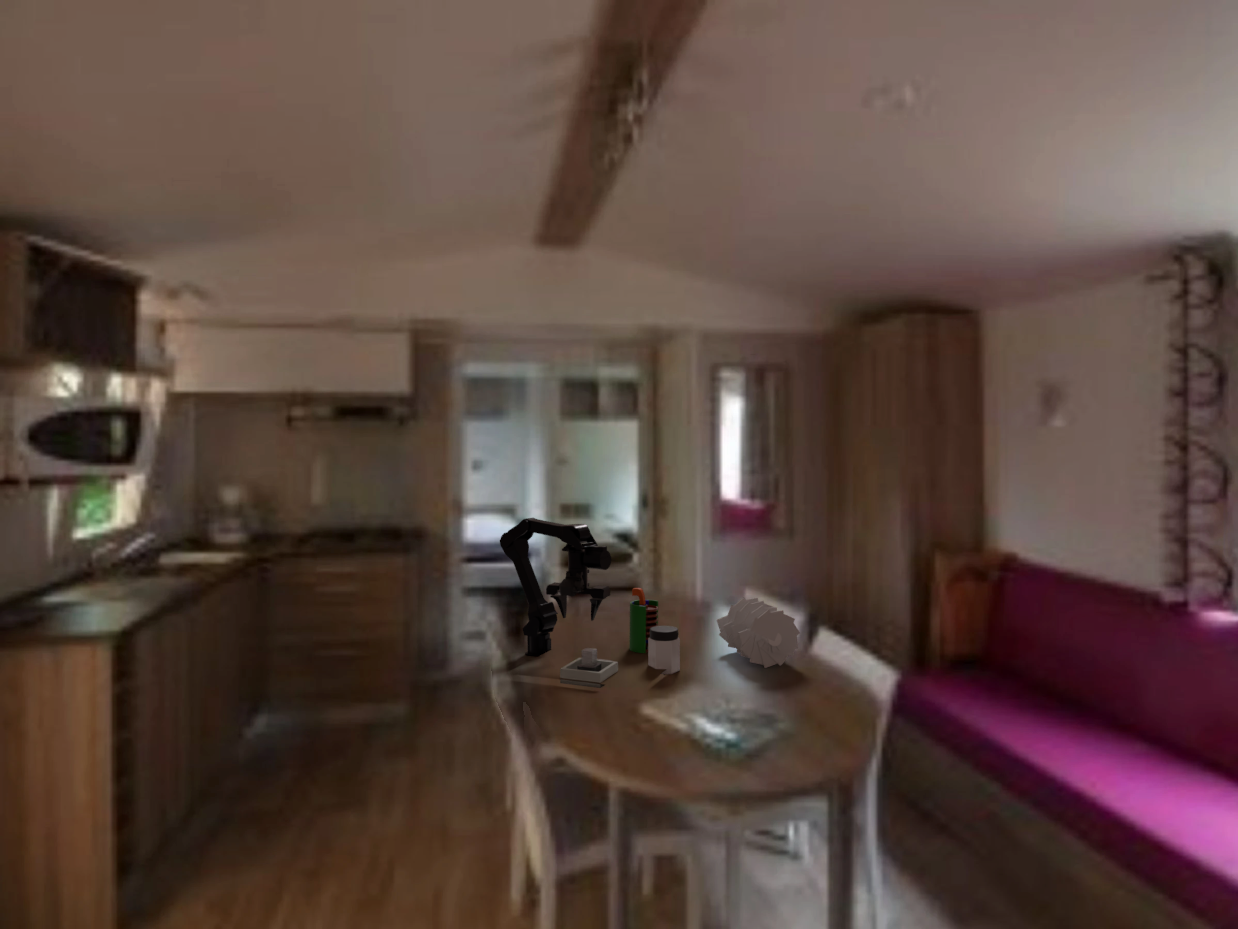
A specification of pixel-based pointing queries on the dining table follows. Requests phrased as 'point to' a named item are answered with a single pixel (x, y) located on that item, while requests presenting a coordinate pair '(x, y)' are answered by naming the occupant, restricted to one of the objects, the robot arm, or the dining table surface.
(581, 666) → the grey square peg
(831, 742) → the dining table surface
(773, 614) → the spiral staircase
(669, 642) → the jar
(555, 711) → the dining table surface
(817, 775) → the dining table surface
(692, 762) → the dining table surface
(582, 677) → the bin
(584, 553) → the robot arm
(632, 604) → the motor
